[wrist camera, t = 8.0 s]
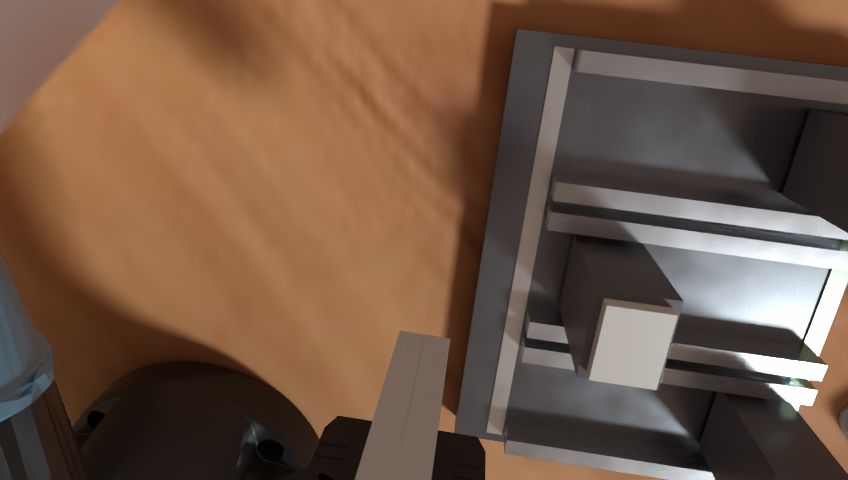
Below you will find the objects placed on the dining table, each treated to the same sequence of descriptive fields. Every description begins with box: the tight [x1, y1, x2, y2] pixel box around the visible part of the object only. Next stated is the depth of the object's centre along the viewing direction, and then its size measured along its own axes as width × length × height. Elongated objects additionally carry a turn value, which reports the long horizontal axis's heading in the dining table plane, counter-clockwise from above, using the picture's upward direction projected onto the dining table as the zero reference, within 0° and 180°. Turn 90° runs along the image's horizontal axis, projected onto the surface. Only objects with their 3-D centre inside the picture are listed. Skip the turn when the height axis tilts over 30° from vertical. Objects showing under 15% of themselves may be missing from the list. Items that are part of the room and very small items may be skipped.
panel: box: [454, 29, 848, 480], centre depth 27 cm, size 16×20×3 cm
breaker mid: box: [559, 234, 684, 390], centre depth 24 cm, size 3×4×7 cm
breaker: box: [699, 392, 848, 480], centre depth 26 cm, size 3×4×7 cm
